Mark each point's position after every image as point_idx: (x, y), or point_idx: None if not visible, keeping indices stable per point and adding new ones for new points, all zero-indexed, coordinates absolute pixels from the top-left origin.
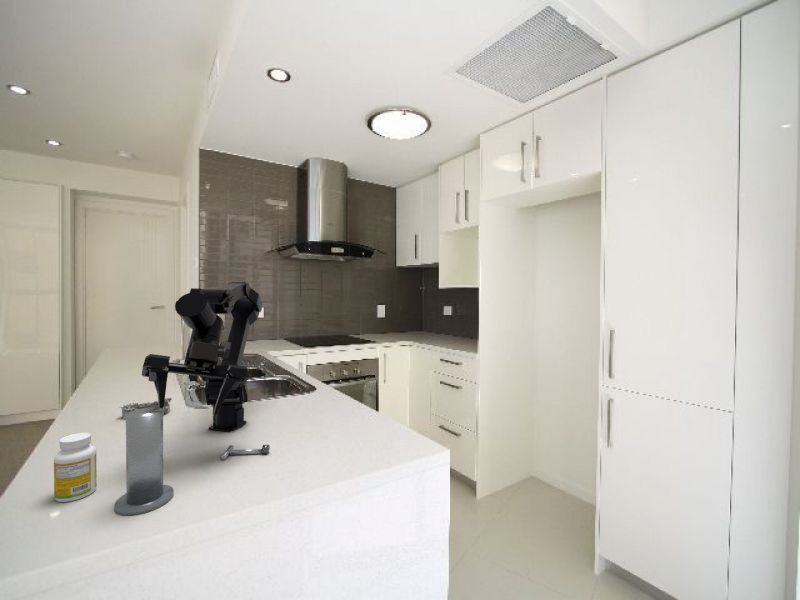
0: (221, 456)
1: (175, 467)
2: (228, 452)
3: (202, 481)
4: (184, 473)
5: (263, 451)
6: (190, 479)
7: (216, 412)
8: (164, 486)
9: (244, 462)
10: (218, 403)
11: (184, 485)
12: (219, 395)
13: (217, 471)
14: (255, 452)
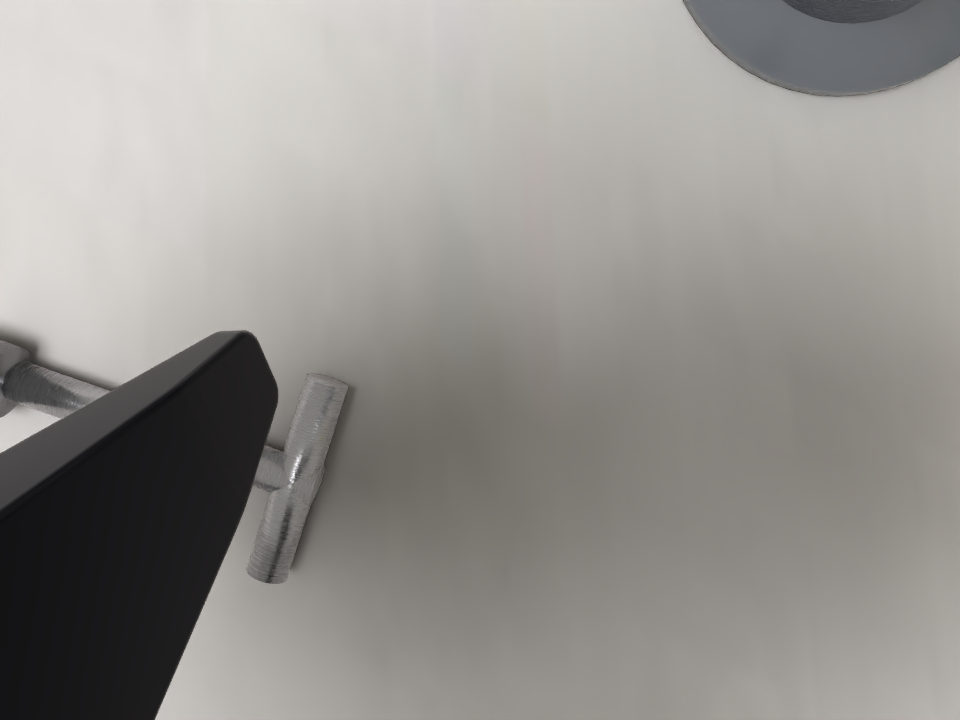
0: (336, 388)
1: (683, 411)
2: (283, 454)
3: (475, 59)
4: (610, 265)
5: (6, 342)
6: (561, 134)
7: (205, 340)
8: (739, 21)
9: (173, 268)
10: (106, 422)
11: (598, 47)
12: (26, 649)
13: (372, 190)
14: (76, 381)
